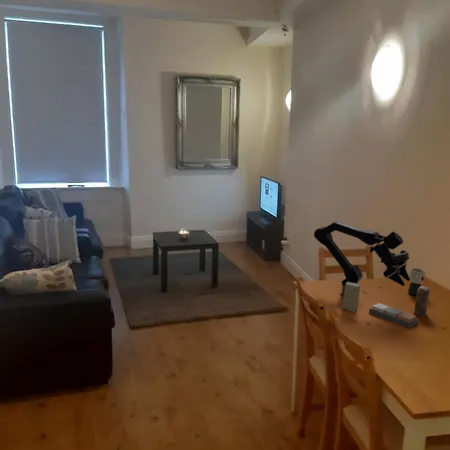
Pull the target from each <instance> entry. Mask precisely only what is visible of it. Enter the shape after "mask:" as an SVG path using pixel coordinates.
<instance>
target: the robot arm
mask: <svg viewBox="0 0 450 450" xmlns="http://www.w3.org/2000/svg"><path fill="white" fill-rule="evenodd" d="M313 232H314V233H313V236H314V238H315V239H316V240H317V242H319V244H321V245H323V246H324V247H325V248H326V249H327V250H328V251H329V253H330V254H331V256H333V258H334V259H335V261H336V262H337V263H338V265H339V266H340V268H341V269H342V271H343V276H344V277H345V278H344V279H343V280H341V286H342V287H341V292H340V295H341V297H342V298H344V291H345V284H346V283H347V282H351V283H356V284H359V282H360V281H362V279H363V272H362V270H361V268H360V267H359V266H358V264H355V265H354V264H352V263H351V262H350V261H349V259H348V258H347V257H346V255H345V254H344V253H343V252H342V250H341V249H340V248H339V246H338V245H337V244H336V242H335V241H334V239H333V238H334V237H333V235H332V233H333V232H338V233H343V234H345V235H348V236H351V237H353V238H356V239H358V240H359V241H361V242H363V243H364V244H366V245H368V246H370V247H369V248H370V249H369V254H372V252H375V254H376V256H378V258H379V259H380V263H383V264H384V265H385V270H384V271H383V274H382V275H383V276H384V278H385V279H386V278H387V279H390V280H391V281H393V282H395V283H396V284H399V285H400V286H402V287H404V286H405V285H406V283H405V282H404V280H406V281H407V282H410V281H409V280H410V278H409V274H408V272H407V271H408V270H407V266H408V265H407V261H409V260H410V256H409V255H410V254H409V252H408V251H407V250H406V249H404V250H403V249H402V250H400V252H399V253H397V254H396V253H395V252H391V250H392V251H393V250H395V249H396V248H398V247H399V246H401V245H402V244H404V240H403V238H402V237H401V235H400V234H398V233H397V232H396V231H394V230H393V231H392V232H390V233H388V235H386V236H385V235H382V234H379V232H378V231H375V230H368V229H366V230H365V229H360V228H357V227H355V226H351V225H349V224H345V223H342V222H340V221H338V220H337V221H334V222H333V221H332V223H330V224H328V225H327V226H321V227H319V228H316V229H315V230H314V231H313ZM382 242H383V243H382ZM403 279H404V280H403Z"/></svg>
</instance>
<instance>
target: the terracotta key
mask: <svg viewBox="0 0 450 450" xmlns="http://www.w3.org/2000/svg"><path fill="white" fill-rule="evenodd" d="M397 319H400V320H403V321H405V322H408V323H410V322H413V321H415V320H416V319H417V315H414V314H411V313H408V312H406V311H403V313H401V314H398V315H397Z"/></svg>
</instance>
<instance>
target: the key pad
mask: <svg viewBox="0 0 450 450" xmlns="http://www.w3.org/2000/svg"><path fill="white" fill-rule="evenodd" d="M368 310H369V311H368V313H369V314H372V315H374V316H376V317H379V318H381V317H382V319H384V320H387V321H390V322H392V323H395V324H398V325H400V326H403V327H405V328H409V329H410V328H413V327H414V326H417V325H418V324H419V319H417V318H416V320H415V321H413V322H410V323H408V322H405V321H403V320H400V319H397V315H398V314H401V313H403V312H404V311H403V310H400V309H397V308H394V307H391V306H388V305H386V304H382V303H380V302H378V303H376V304H373V305H372V306H371V308H369V309H368Z"/></svg>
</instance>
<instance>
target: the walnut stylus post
mask: <svg viewBox="0 0 450 450" xmlns="http://www.w3.org/2000/svg"><path fill="white" fill-rule="evenodd" d="M430 292H431V289H430V288H429V287H428V286H427V287H426V286H423V285H421V287H419V288H418V289H417V295H415V302H414V310H413V315H414V316H416V317H418V316H419V317H421V318H425V317H426V315H427V313H428V305H429V298H430Z"/></svg>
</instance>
